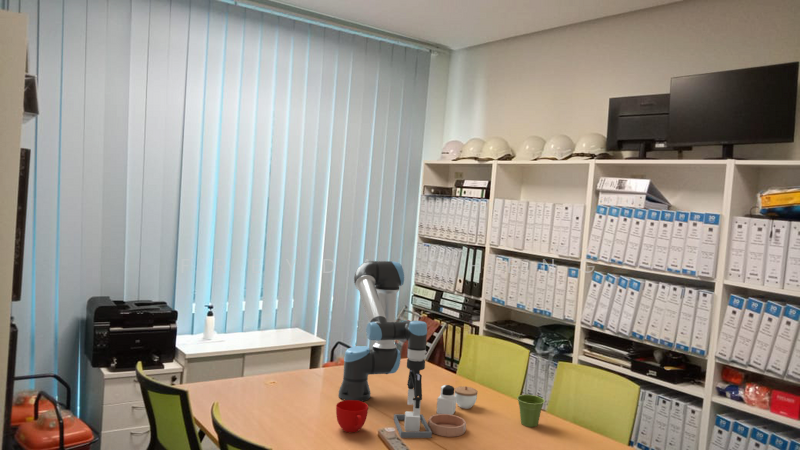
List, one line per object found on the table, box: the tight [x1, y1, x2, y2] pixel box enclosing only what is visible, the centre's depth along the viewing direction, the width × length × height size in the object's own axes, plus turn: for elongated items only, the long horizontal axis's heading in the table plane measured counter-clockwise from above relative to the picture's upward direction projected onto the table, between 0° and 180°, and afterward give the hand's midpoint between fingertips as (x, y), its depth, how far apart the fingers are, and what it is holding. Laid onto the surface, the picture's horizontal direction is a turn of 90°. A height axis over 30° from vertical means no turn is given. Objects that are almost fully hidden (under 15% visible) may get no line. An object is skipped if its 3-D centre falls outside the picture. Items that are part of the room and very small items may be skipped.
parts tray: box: [393, 413, 433, 439], centre depth 243 cm, size 13×20×2 cm, turn 9°
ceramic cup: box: [335, 400, 369, 433], centre depth 235 cm, size 13×17×10 cm
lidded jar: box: [454, 386, 478, 410], centre depth 273 cm, size 11×11×9 cm
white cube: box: [403, 410, 421, 432], centre depth 243 cm, size 6×6×6 cm
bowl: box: [427, 413, 467, 438], centre depth 243 cm, size 15×15×4 cm
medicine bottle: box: [436, 384, 457, 415], centre depth 264 cm, size 7×7×12 cm
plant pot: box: [516, 394, 546, 428], centre depth 255 cm, size 12×12×11 cm
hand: (413, 409), depth 242 cm, fingers open, 13 cm apart
